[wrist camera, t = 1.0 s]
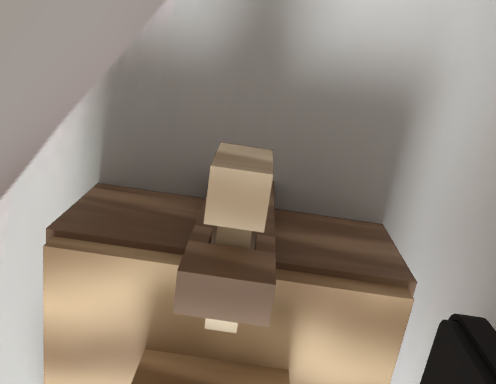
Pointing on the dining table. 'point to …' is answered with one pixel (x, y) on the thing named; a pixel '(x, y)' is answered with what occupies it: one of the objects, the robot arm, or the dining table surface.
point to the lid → (205, 340)
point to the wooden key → (237, 200)
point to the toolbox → (232, 249)
